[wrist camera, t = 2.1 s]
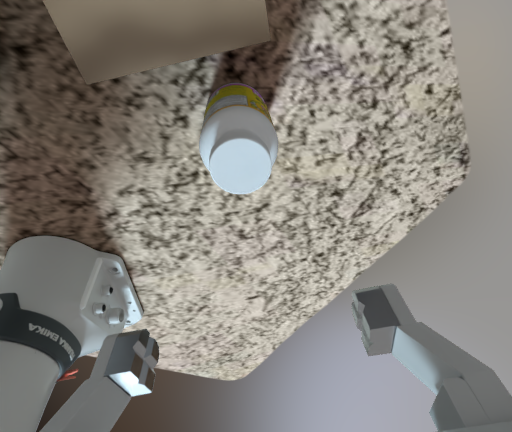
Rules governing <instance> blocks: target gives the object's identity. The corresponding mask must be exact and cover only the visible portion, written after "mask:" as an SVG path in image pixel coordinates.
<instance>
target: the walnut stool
mask: <svg viewBox="0 0 512 432" xmlns="http://www.w3.org/2000/svg"><path fill="white" fill-rule="evenodd" d="M42 1H43V3H44V5H45V6H46V8H47V10H48V12H49V14H50V16H51V18H52V20H53V22H54V24H55V26H56V27H57V29H58V31H59V33H60V35H61V37H62V39H63V41H64V43H65V45H66V47H67V48H68V50H69V52H70V54H71V56H72V58H73V60H74V62H75V64H76V66H77V68H78V70H79V71H80V73H81V75H82V77H83V79H84V81H85V83H86V85H88V84H92V83H97V82H101V81H105V80H109V79H113V78H117V77H122V76H126V75H130V74H134V73H138V72H142V71H146V70H151V69H155V68H159V67H163V66H167V65H171V64H176V63H180V62H184V61H188V60H192V59H196V58H201V57H205V56H209V55H213V54H217V53H221V52H226V51H230V50H234V49H238V48H242V47H246V46H251V45H255V44H259V43H263V42H267V41H271V38H270V31H269V24H268V17H267V10H266V3H265V0H42Z"/></svg>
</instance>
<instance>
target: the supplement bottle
mask: <svg viewBox="0 0 512 432" xmlns="http://www.w3.org/2000/svg"><path fill="white" fill-rule="evenodd" d="M199 149H200V154H201V158H202V160H203V163H204V164H205V166H206V167H207V169H208V170H209V171H210V174H211V176H212V179H213V180H214V182H215V183H216V184H217V185H218V186H219V187H220V188H222V189H223V190H225V191H227V192H230V193H234V194H247V193H251V192H253V191H255V190H257V189H259V188H260V187H262V186H263V185H264V184H265V183H266V181H267V180H268V178H269V176H270V174H271V170H272V166H273V164H274V162H275V160H276V157H277V153H278V138H277V134H276V131H275V128H274V126H273V123H272V120H271V117H270V114H269V112H268V109H267V106H266V103H265V101H264V99H263V98H262V96H261V95H260V94H259V93H258V92H257V91H256V90H255V89H254V88H252V87H250V86H249V85H246V84H242V83H230V84H226V85H224V86H222V87H220V88H218V89H217V90H216V91H215V92H214V93H213V94H212V96H211V97H210V99H209V101H208V103H207V106H206V110H205V116H204V121H203V126H202V131H201V135H200V141H199Z"/></svg>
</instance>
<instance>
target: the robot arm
mask: <svg viewBox="0 0 512 432" xmlns="http://www.w3.org/2000/svg"><path fill="white" fill-rule="evenodd" d="M352 299H353V301H354V302H353V303H352V312H353V317H354V320H355V323H356V326H357V328H358V329H360V330H361V331H362V341H363V344H364V347H365V349H366V352H367V354H368V356H373V355H380V354H387V353H392V355H393V356H394V357H396V358H397V359H398V360H399V361H400V362H401V363H402V364H403V365H404V366H405V367H406V368H407V369H409V370H410V371H411V372H412V373H413V374H414V375H415V376H416V377H417V378H418V379H419V380H421V381H422V382H423V383H424V384H425V385H426V386H427V387H428V388H429V389H430V390H432V391H433V392H434V393H435V394H436V395H437V396H436V399H435V401H434V403H433V405H432V407H431V410H430V412H429V413H430V415H431V417H432V419H433V422H434V424H435V426H436V428H437V430H438V432H512V396H511V395H510V394H509V392H508V391H507V389H506V388H505V386H504V385H503V384H502V382H501V381H500V379H499V378H498V376H497V375H496V374H495V372H494V371H493V370H492V369H491V368H489V367H488V366H486V365H485V364H483V363H482V362H480V361H479V360H477V359H476V358H474V357H473V356H471V355H470V354H468V353H467V352H465V351H464V350H462V349H461V348H459V347H458V346H456V345H455V344H453V343H452V342H450V341H449V340H447V339H446V338H444V337H443V336H441V335H440V334H438V333H437V332H435V331H434V330H432V329H431V328H429V327H428V326H426V325H425V324H423V323H422V322H416V320H415V319H414V317H413V315H412V313H411V312H410V310H409V308H408V306H407V305H406V303H405V301H404V299H403V298H402V296H401V294H400V293H399V291H398V289H397V287H396V286H395V285H394V284H387V285H381V286H374V287H370V288H365V289H359V290H354V291H352ZM142 316H143V310H142V307H141V305H140V302H139V300H138V297H137V295H136V292H135V290H134V287H133V285H132V282H131V280H130V277H129V275H128V272H127V270H126V267H125V265H124V262H123V260H122V259H121V258H120V257H119V256H117V255H114V254H110V253H105V252H100V251H97V250H94V249H92V248H90V247H88V246H86V245H84V244H82V243H79V242H77V241H74V240H70V239H67V238H62V237H56V236H33V237H28V238H25V239H22V240H20V241H18V242H16V243H14V244H13V245H12V246H11V247H10V248H9V250H8V251H7V254H6V257H5V260H4V263H3V265H2V268H1V270H0V432H36V429H37V427H38V424H39V421H40V419H41V416H42V414H43V411H44V409H45V406H46V404H47V402H48V399H49V397H50V394H51V392H52V390H53V387H54V385H55V383H57V382H58V381H60V380H66V379H72V378H75V377H76V376H68V375H71V374H74V373H76V372H78V369H74V370H69V371H67V370H68V369H69V367H70V366H71V365H72V364H73V363H74V361H75V360H76V359H77V358H78V357H80V356H83V355H86V354H89V353H92V352H95V351H98V350H100V352H99V354H98V357H97V360H96V363H95V365H94V368H93V371H92V374H91V376H90V379H88V380H85V382H84V383H83V384H82V385H81V386H80V387H79V388H78V389H77V390H76V391H75V393H74V394H73V395H72V396H71V397H70V398H69V400H68V401H67V402H66V403H65V404H64V405H63V406H62V407H61V408H60V409H59V411H58V412H57V413H56V414H55V415H54V416H53V417H52V419H51V420H50V421H49V422H48V423H47V424H46V425H45V426H44V427H43V429H42V430H41V431H40V432H110V430H111V429H112V427H113V426H114V424H115V423H116V421H117V419H118V418H119V416H120V415H121V413H122V412H123V410H124V408H125V407H126V405H127V404H128V402H129V401H130V399H131V396H136V395H141V394H146V393H151V392H152V389H153V384H154V379H155V372H154V370H153V368H154V367H155V366H156V364H157V363H158V359H159V346H158V344H157V342H156V340H155V339H153V338H151V337H149V335H150V333H149V332H148V330H147V329H142V330H136V331H131V332H125V333H122V331H123V328H125V327H128V326H130V325H133V324H135V323H136V322H138V321H139V320H140V319H141V318H142ZM67 376H68V377H67Z"/></svg>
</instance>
